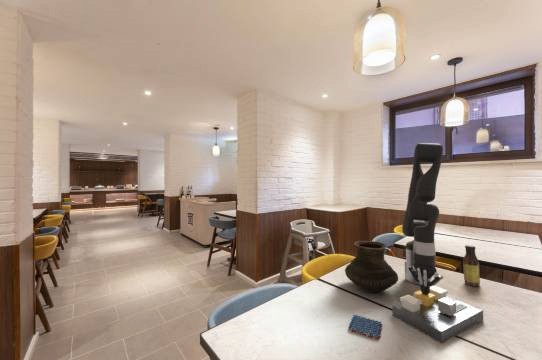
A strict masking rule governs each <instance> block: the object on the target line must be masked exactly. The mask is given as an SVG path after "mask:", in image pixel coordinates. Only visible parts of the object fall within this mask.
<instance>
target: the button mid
mask: <svg viewBox="0 0 542 360" xmlns="http://www.w3.org/2000/svg"><path fill="white" fill-rule="evenodd" d="M413 297H416V298H417V299H420V300H422V305H424V306H427V307H428V306H431V305H433V304H434V299H435V298H436V296H435V295H433V294H431V293H429V294H428V295H424V294H422V292H421V289H420V290H417V291H414V292H413Z"/></svg>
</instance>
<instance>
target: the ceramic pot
mask: <svg viewBox="0 0 542 360" xmlns="http://www.w3.org/2000/svg"><path fill="white" fill-rule="evenodd" d="M353 245H354V246H355V247H356V252H357V253H356V254H357V255H356V256H355V257H354V258H353V259H352V260H351V262H350V263H349V264H347V265H346V267H345V269H344V273H345V276H346V278H348V279H349V280H350V282H351V283H353V284H354V285H355V286H356V287H358V288H360V289H361V290H363V291H365V292H367V293H371V294H378V293H381V292H384V291H387V290H388V289H390V288H391V287H393V286H394V285H396V284H397V283H398V281H399V276H398V273H397V272H396V271H395V270H394V268H393V267H392V266H391V265H390V264H389V263H388V262H387V261H386V260H385V249H386V248H388V245H387V244H386V243H383V242H379V241H374V240H372V241H371V240H357V241H354V243H353Z"/></svg>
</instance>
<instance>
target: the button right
mask: <svg viewBox="0 0 542 360" xmlns="http://www.w3.org/2000/svg"><path fill="white" fill-rule="evenodd" d="M430 293H431V294H433V295H435V296H436V298H435V299H436V300H440V299H442V298H446V296H447V295H448V293H449V291H448V290H447V289H444V288H442V287H439V286H437V285H434V286H431V287H430Z"/></svg>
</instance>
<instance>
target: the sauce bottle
mask: <svg viewBox="0 0 542 360" xmlns="http://www.w3.org/2000/svg"><path fill="white" fill-rule="evenodd" d="M464 248H465V254H464V256H463V259H462V260H463V266H462V267H463V281H464V284H465V285H468V286H472V287H479V286H480V284H481V277H480V262H479V259H478V257H477V255H476V246H475V245H470V244H465V246H464Z"/></svg>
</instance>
